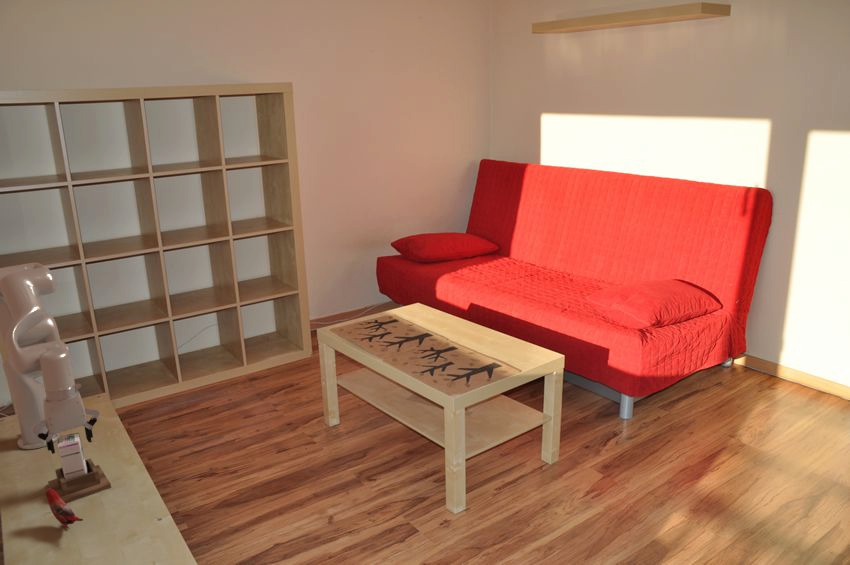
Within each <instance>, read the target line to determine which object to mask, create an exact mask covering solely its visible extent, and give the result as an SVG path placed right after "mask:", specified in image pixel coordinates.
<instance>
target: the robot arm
mask: <svg viewBox="0 0 850 565" xmlns="http://www.w3.org/2000/svg"><path fill="white" fill-rule="evenodd" d="M56 290H57V281H56V276H54V274H53V272H52V270H51V269H49V267H47V266H45V265H43V264H41V263H39V262H29V263H24V264H23V263H22V264H19V265H18V264H17V265H12V266H11V265H10V266H5V267H0V338H1V341H2V344H3V346H4V347H6V352H7V354H8V356H6V357H5V358H4V360H3V362H2V369H3V371H4V374H5V375H4V376H6V379H7V381H8V384H9V389H10V391H11V394H12V399H13V403H14V408H15V412H16V415H17V421H18V427H19V431H20V435H21V436H20V437H19V439H18V440H17V442H16V443H17V446H18V448H19V449H23V450H34V449H39V448H43V447H46V449H47V451H49V452H51V455H52V454H56V451H55V445H54V443H55V442H56V441H58V437H61V433H63V432H67V431H69V430H72V429H76V428H79V427H84V432H85V438H86V440H87V442H88V443H92V439H93V437H94V434H93V427H94V426H95V424H96V423H97V422H98V419H99V418H98V417H99V416H100V411H99V410H97V409H91V408H85V406H84V402H83V399H82V396H81V393H80V391H79V389H82V384H81V383H76V381H75V377H74V372H73V371H74V370H73V367H72V361H71V356H70V349H69V346H68V344H66V342H64V341H62V340H61V337H60V333H59V328H58V324H57V323H56V320H55V318H54V317H53V316H52V315H51V313H48V312H47V311H46V308H45V307H44V305H43V303H42V300H41V298H40V297H42V296H45V295H50V294H53V293H55V291H56ZM39 377H40V378H41V377H42V381H43V384H42V383H41V382H39V381H38V380H36V379H37V378H39ZM87 415H91V416H92V417H91V418H90V419H89V421H88V417H87Z"/></svg>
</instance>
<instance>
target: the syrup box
mask: <svg viewBox="0 0 850 565" xmlns="http://www.w3.org/2000/svg"><path fill="white" fill-rule="evenodd" d="M56 445H57V450H58V455H59V459H60V460H59V461H60V464H61V468H62V469H63V474H64V478H65V481H66V480H69V479H72V478H75V477H78V476H81V475H84V474H87V473H88V471H87V467H86V462H85V460H86V459H85V458H86V457H85V452H84V449H83V448H84V447H83V445H82V439H81V434H80V432H75V433H74V432H73V433H70V434H65V435H60V437H58V440H57V444H56Z"/></svg>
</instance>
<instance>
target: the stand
mask: <svg viewBox="0 0 850 565" xmlns="http://www.w3.org/2000/svg"><path fill="white" fill-rule="evenodd" d="M85 462H86V467H87V471H88V473H87V474H84V475H81V476H78V477H75V478H72V479H69V480H66V481H65V478H64V474H63V469H62V467H60V468H57V469H55V470H54V472H55V476H56V478H55V479H51V480H48V481H47V483H48V487H49V489H53V490H54V491H55V492H56V493H57V494H58V495H59V497H60V498H61V499H62V500H63V501H64V502H65V503H66V504H68V502H69V503H71V502H74V501H76V500H77V501H78V500H80V499H83V498H85V497H89V496H91V495H94V494H97V493H100V492H103V491H105V490H108V489H111V488H112V483H111V482H110V481H109V479H108V478H107V475H105V473H104V471H103V470H102V468H101V466H100V464H97V465H95V463H94V461H93V460H92V458H87V459H85Z"/></svg>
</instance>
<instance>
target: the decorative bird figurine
mask: <svg viewBox="0 0 850 565" xmlns="http://www.w3.org/2000/svg"><path fill="white" fill-rule="evenodd" d="M45 495H46V499H47V503H48V506H49V508H50V510H51V512H52V514H53V516H54V518H56V520H57V521H59V523H60V524H61V526H62V527H63V528H66V529H69V530H71V529H70V527H69V526H68V525H73V524H75V522H82V521H84V519H83V518H81V517H78V516H77V515H76V514H75V513H74V511H73V510H72V509H71V507H70V506H69V505H68V503H65V502H64V501H63V500H62V499H61V498H60V497H59V495H58V494H57V493H56V492H55V491H54V490H53V489H50V488H48V489H47V490H46V492H45Z"/></svg>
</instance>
